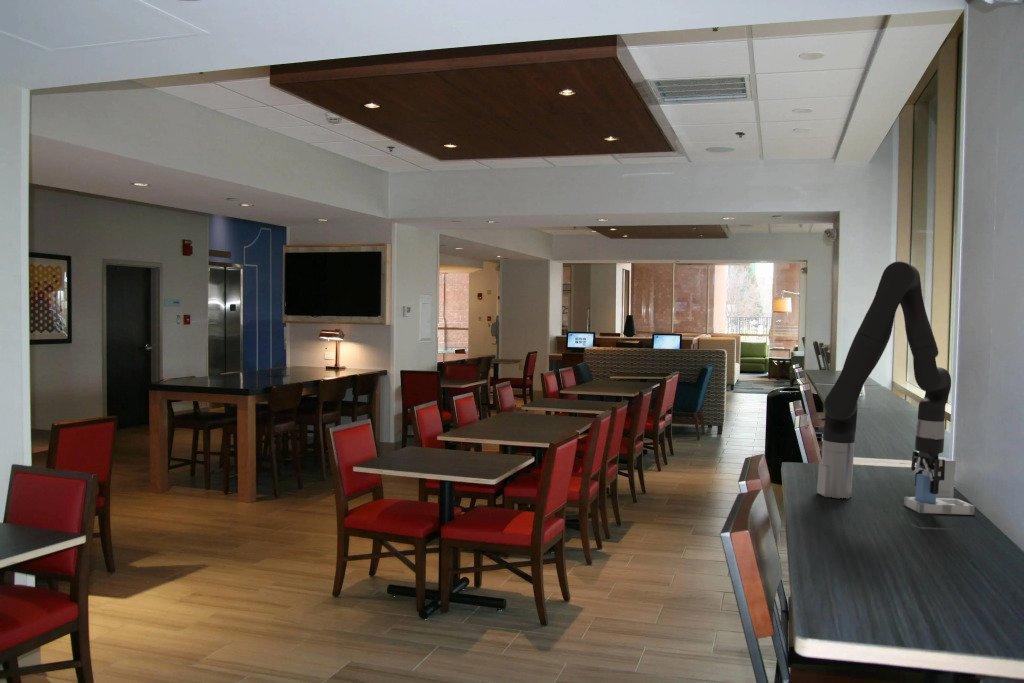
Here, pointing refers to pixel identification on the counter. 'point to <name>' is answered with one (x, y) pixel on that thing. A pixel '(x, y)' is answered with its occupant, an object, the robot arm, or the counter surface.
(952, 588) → the counter surface
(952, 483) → the supplement box
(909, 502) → the jack panel
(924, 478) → the plug
